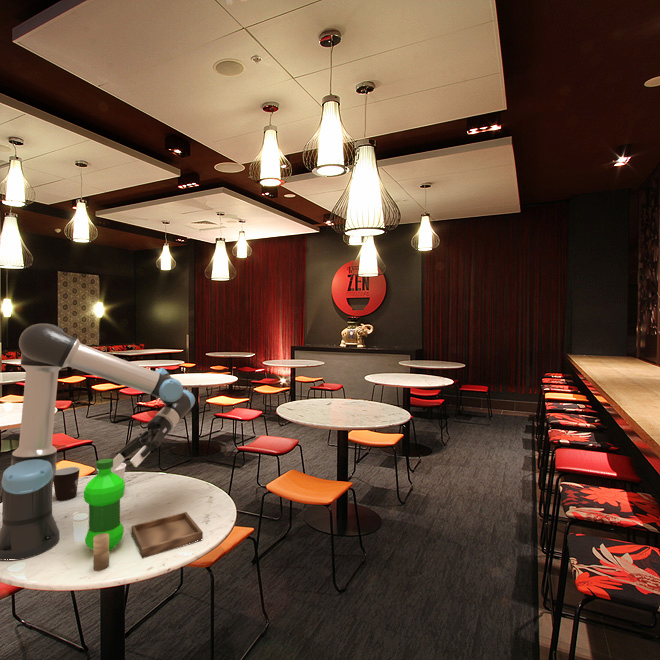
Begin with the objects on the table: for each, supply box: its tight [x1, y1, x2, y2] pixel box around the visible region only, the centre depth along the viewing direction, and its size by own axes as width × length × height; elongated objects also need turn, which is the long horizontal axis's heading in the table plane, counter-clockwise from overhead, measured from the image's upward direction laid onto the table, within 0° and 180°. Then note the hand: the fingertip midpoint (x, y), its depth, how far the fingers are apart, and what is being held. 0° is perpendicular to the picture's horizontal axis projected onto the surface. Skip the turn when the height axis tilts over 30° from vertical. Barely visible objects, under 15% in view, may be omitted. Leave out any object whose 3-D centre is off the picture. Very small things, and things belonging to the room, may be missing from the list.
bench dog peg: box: [92, 533, 110, 572], centre depth 108 cm, size 4×4×8 cm
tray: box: [130, 511, 204, 559], centre depth 124 cm, size 17×17×2 cm
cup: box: [96, 462, 127, 480], centre depth 155 cm, size 10×10×11 cm
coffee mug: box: [53, 466, 81, 502], centre depth 154 cm, size 12×9×10 cm
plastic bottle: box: [83, 458, 126, 552], centre depth 117 cm, size 10×10×25 cm
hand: (119, 467), depth 127 cm, fingers open, 13 cm apart
